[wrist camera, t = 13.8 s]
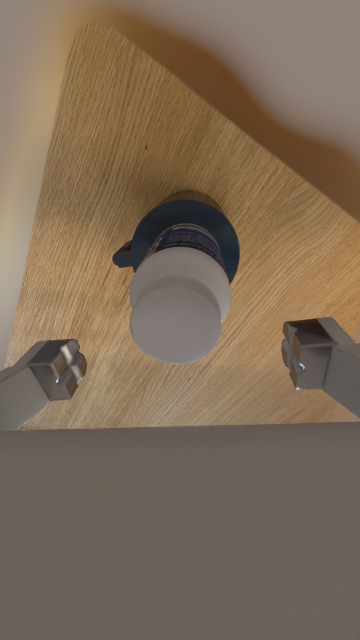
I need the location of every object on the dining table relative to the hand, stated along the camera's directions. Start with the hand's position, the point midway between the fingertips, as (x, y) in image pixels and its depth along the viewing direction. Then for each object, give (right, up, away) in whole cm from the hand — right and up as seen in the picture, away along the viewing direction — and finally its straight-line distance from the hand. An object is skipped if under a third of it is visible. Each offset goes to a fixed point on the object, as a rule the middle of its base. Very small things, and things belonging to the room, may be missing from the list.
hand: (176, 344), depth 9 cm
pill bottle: (+1, +6, +9) cm, 11 cm away
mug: (0, +10, +17) cm, 20 cm away
